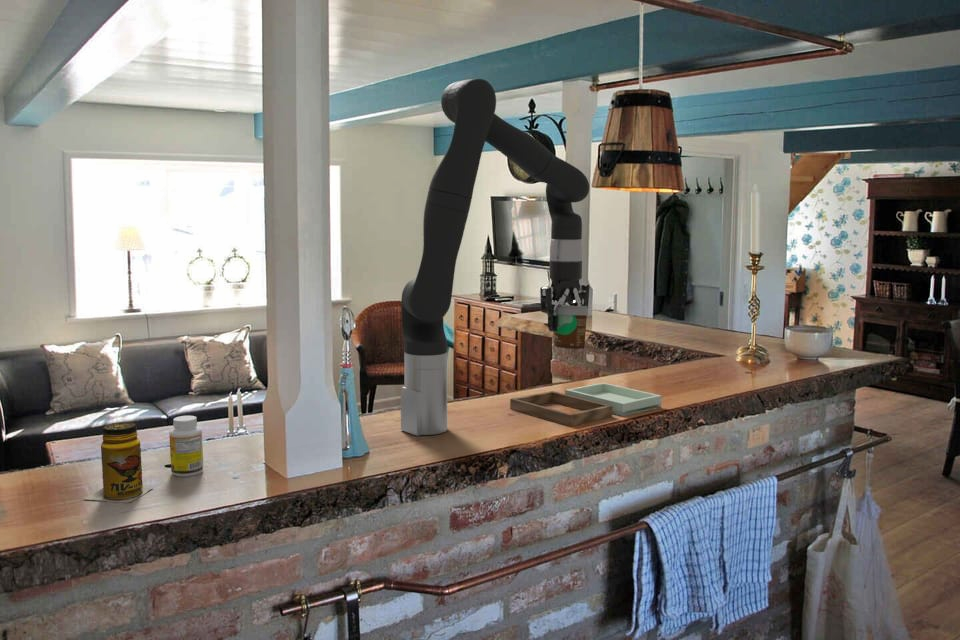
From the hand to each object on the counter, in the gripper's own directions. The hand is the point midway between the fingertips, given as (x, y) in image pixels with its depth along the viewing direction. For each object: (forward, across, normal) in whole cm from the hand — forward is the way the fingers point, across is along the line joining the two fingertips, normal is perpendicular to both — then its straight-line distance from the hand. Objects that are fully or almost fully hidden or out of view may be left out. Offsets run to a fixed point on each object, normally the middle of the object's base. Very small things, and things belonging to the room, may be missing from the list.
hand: (564, 329), depth 194 cm
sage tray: (+20, +15, -2) cm, 25 cm away
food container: (+4, 0, 0) cm, 4 cm away
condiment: (+20, -99, +6) cm, 101 cm away
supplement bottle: (+20, -86, +10) cm, 89 cm away
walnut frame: (+20, -1, 0) cm, 20 cm away
